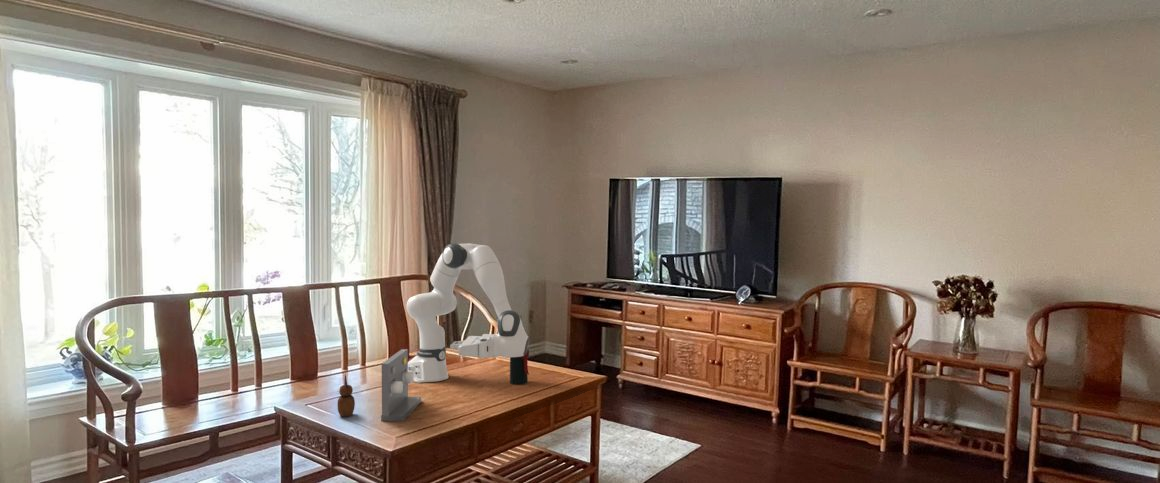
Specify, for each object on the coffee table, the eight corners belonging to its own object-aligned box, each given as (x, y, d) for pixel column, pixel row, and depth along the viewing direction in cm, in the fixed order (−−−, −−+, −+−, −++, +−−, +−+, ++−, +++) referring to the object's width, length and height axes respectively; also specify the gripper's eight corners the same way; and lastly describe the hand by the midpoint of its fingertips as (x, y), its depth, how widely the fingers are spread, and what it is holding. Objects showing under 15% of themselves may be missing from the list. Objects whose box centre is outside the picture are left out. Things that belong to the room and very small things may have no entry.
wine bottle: (520, 386, 285) (520, 318, 283) (506, 382, 292) (506, 315, 291) (534, 383, 290) (534, 316, 289) (520, 379, 298) (520, 313, 296)
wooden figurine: (340, 412, 248) (340, 373, 247) (356, 412, 248) (356, 373, 248) (335, 418, 241) (335, 377, 240) (351, 418, 242) (351, 377, 241)
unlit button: (403, 391, 245) (403, 380, 245) (399, 395, 241) (399, 383, 241) (394, 391, 245) (394, 379, 245) (390, 394, 241) (390, 383, 241)
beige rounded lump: (413, 381, 259) (413, 370, 259) (410, 384, 255) (410, 373, 255) (405, 381, 259) (405, 370, 259) (402, 384, 255) (402, 373, 255)
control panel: (421, 401, 262) (420, 349, 261) (403, 421, 238) (402, 364, 237) (401, 401, 263) (400, 349, 262) (381, 421, 239) (380, 363, 238)
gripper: (491, 332, 266) (457, 331, 266) (482, 342, 245) (445, 342, 246) (491, 347, 266) (457, 347, 267) (482, 359, 246) (445, 359, 246)
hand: (451, 345), depth 256 cm, fingers open, 3 cm apart
